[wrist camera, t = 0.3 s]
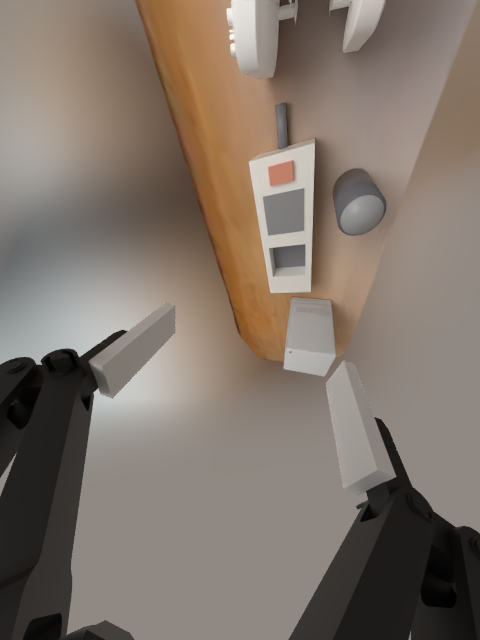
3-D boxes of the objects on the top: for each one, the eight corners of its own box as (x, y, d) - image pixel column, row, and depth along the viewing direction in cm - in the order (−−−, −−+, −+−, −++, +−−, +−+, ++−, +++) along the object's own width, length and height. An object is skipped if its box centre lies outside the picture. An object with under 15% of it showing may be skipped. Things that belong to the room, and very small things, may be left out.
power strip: (250, 115, 24) (240, 118, 21) (316, 90, 21) (316, 88, 18) (273, 280, 42) (270, 294, 39) (311, 278, 39) (310, 293, 36)
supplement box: (288, 320, 51) (281, 369, 42) (291, 295, 44) (284, 347, 35) (323, 324, 49) (325, 378, 39) (332, 299, 42) (337, 356, 33)
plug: (362, 159, 24) (379, 180, 18) (374, 191, 26) (393, 220, 20) (327, 186, 27) (330, 212, 21) (340, 212, 29) (347, 244, 23)
